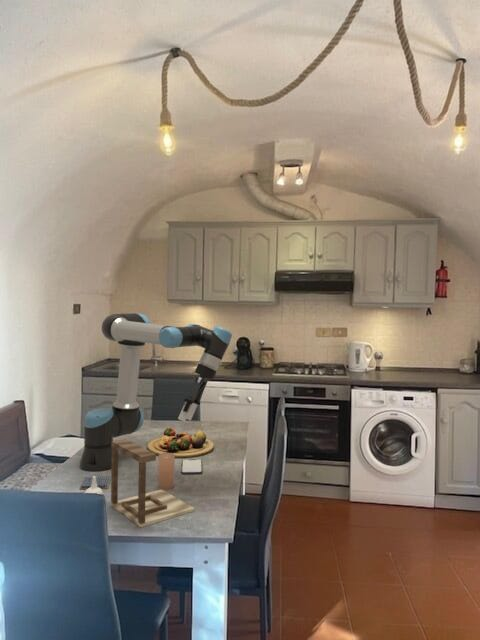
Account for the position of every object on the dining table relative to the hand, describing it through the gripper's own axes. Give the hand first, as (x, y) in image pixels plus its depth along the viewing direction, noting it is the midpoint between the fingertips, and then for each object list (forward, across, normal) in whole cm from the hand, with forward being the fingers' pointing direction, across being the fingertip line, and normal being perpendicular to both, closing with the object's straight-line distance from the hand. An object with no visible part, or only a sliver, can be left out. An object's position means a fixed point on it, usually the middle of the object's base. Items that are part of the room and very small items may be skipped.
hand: (184, 419), depth 182 cm
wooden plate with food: (+19, +58, +4) cm, 61 cm away
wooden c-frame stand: (+30, -11, -4) cm, 32 cm away
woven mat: (+37, +8, +22) cm, 44 cm away
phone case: (+20, +31, -7) cm, 38 cm away
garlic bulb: (+38, -4, +18) cm, 42 cm away
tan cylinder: (+26, +9, -3) cm, 28 cm away
